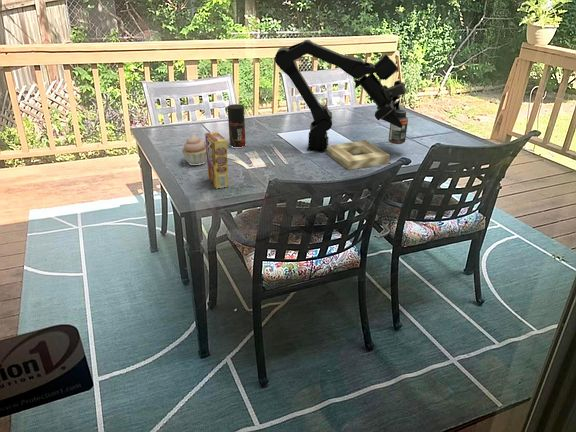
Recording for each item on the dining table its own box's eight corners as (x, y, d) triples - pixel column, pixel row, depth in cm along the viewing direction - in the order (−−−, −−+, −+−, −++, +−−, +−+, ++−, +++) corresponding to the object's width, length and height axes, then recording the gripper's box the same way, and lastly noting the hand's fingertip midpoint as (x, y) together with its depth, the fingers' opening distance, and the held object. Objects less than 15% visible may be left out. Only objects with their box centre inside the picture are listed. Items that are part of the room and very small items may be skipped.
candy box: (230, 187, 143) (227, 140, 136) (216, 189, 142) (213, 142, 134) (220, 176, 150) (217, 131, 143) (207, 178, 149) (203, 133, 141)
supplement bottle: (393, 137, 170) (397, 107, 164) (408, 141, 166) (412, 110, 161) (385, 142, 166) (388, 111, 160) (400, 146, 162) (404, 114, 157)
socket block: (348, 170, 155) (348, 161, 154) (326, 153, 168) (327, 145, 167) (388, 163, 161) (389, 155, 159) (365, 147, 174) (365, 140, 172)
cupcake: (207, 156, 166) (205, 129, 161) (212, 165, 158) (210, 137, 153) (181, 159, 163) (178, 131, 158) (184, 169, 155) (181, 140, 150)
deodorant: (238, 141, 179) (236, 103, 171) (248, 145, 175) (247, 106, 168) (226, 145, 175) (224, 106, 168) (236, 149, 171) (234, 109, 164)
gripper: (388, 80, 148) (418, 117, 150) (398, 68, 163) (425, 103, 165) (362, 101, 154) (391, 137, 156) (373, 89, 170) (400, 122, 172)
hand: (402, 124), depth 162 cm, fingers closed on supplement bottle, 6 cm apart
